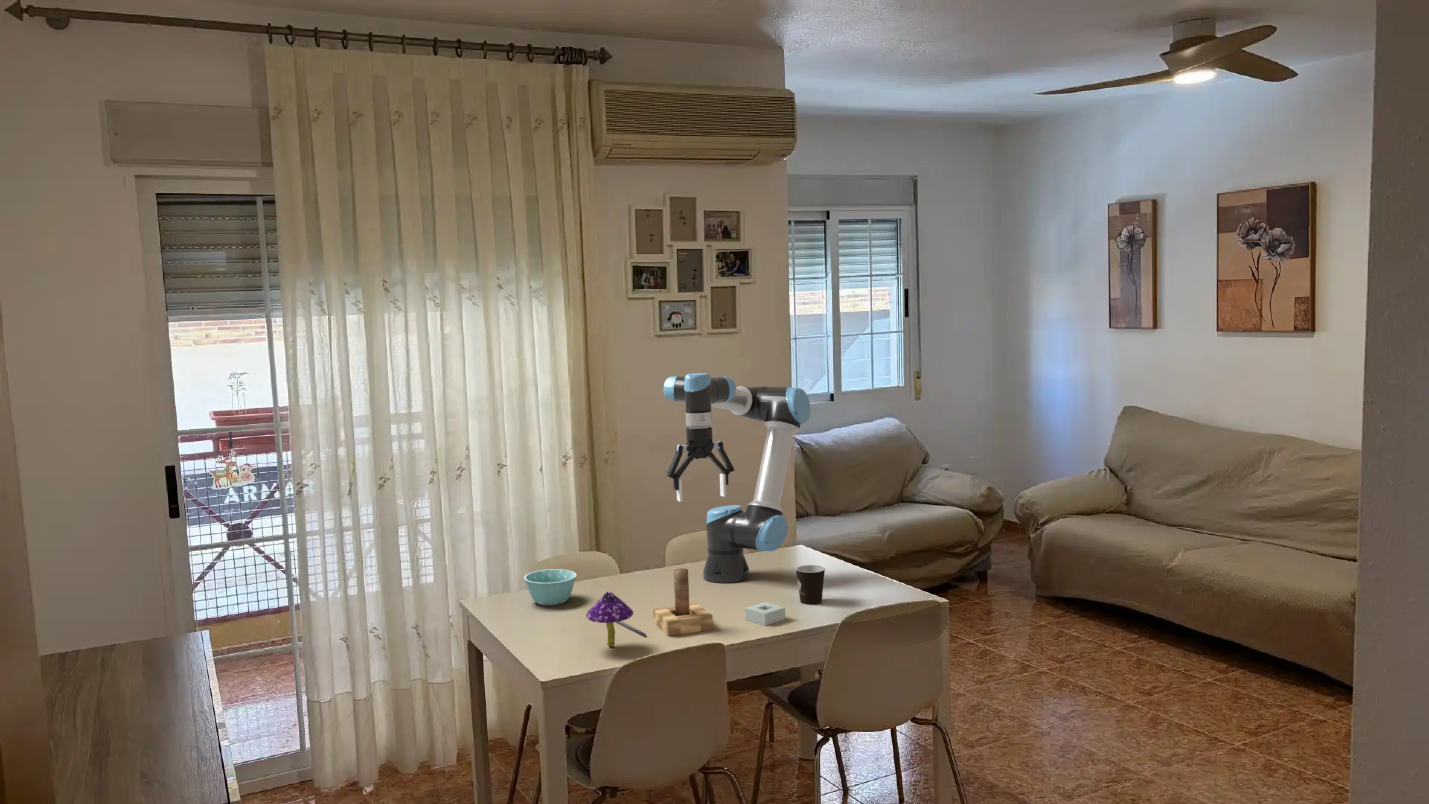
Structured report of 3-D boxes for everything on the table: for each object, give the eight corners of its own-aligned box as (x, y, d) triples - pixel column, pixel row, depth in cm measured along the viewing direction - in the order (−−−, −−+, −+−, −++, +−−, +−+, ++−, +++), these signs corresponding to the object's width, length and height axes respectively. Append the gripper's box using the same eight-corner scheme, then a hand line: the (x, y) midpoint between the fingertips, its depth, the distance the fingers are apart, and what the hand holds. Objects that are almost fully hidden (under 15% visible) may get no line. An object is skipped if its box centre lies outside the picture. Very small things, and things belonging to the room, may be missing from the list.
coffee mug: (824, 606, 313) (823, 572, 312) (794, 605, 315) (793, 572, 314) (827, 594, 324) (827, 562, 323) (799, 594, 326) (798, 562, 325)
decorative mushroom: (579, 652, 279) (576, 596, 278) (600, 637, 291) (598, 583, 289) (622, 656, 275) (619, 600, 273) (642, 641, 287) (640, 586, 285)
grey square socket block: (745, 619, 303) (745, 608, 302) (765, 613, 308) (765, 601, 307) (765, 625, 297) (764, 613, 296) (785, 619, 302) (785, 607, 301)
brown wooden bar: (673, 625, 300) (671, 569, 298) (687, 623, 301) (685, 567, 299) (678, 629, 296) (676, 572, 294) (692, 627, 297) (690, 570, 296)
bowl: (587, 597, 330) (586, 571, 330) (559, 611, 316) (557, 584, 315) (544, 592, 337) (543, 567, 336) (515, 606, 323) (514, 579, 322)
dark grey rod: (615, 622, 304) (615, 619, 304) (617, 621, 305) (617, 618, 304) (644, 637, 290) (644, 634, 290) (646, 636, 291) (646, 633, 290)
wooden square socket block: (653, 622, 302) (653, 609, 302) (696, 616, 307) (696, 602, 307) (668, 636, 290) (667, 621, 290) (712, 629, 295) (712, 615, 294)
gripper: (662, 431, 302) (665, 505, 304) (743, 424, 311) (745, 496, 313) (654, 428, 309) (657, 500, 311) (733, 421, 318) (736, 492, 320)
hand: (701, 498), depth 312 cm, fingers open, 13 cm apart
